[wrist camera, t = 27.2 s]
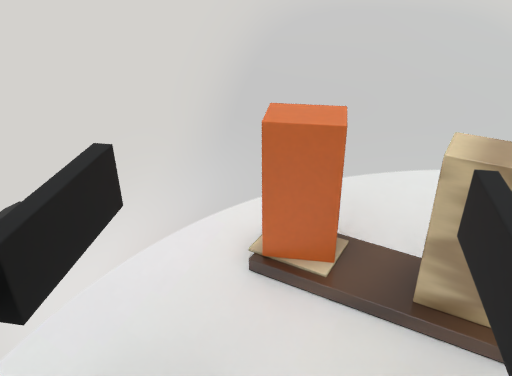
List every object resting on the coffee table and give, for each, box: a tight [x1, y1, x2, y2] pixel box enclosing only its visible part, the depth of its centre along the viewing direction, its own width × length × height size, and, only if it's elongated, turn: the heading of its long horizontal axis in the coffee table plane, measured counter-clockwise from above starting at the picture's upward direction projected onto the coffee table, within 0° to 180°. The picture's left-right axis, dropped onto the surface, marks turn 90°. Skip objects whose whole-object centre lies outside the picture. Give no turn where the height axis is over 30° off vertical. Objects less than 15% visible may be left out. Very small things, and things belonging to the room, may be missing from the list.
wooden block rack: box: [249, 132, 512, 363], centre depth 27 cm, size 22×6×11 cm, turn 60°
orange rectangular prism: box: [262, 103, 347, 263], centre depth 30 cm, size 5×4×10 cm
